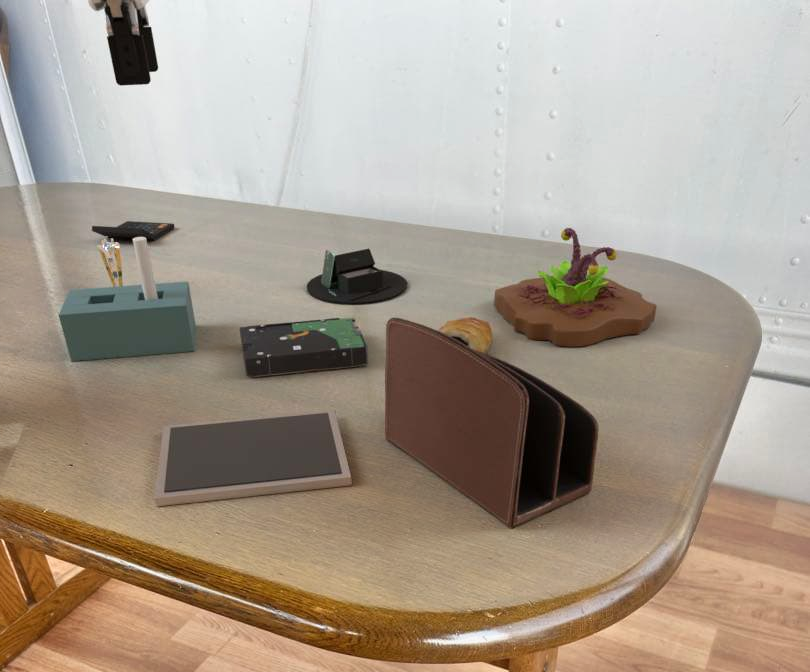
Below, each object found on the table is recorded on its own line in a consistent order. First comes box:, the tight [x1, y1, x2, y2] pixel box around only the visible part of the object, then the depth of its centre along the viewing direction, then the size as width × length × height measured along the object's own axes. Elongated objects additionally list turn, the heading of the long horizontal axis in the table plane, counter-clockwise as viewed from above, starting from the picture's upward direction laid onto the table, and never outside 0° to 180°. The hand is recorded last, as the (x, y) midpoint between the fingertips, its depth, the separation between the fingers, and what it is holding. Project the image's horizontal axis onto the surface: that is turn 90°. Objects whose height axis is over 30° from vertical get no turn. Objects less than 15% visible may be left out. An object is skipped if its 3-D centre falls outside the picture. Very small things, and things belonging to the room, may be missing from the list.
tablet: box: [154, 409, 353, 507], centre depth 81 cm, size 18×14×1 cm
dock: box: [58, 281, 197, 362], centre depth 103 cm, size 9×15×6 cm, turn 100°
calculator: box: [91, 220, 176, 241], centre depth 143 cm, size 9×12×3 cm
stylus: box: [132, 237, 158, 300], centre depth 102 cm, size 2×2×13 cm
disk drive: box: [239, 317, 369, 378], centre depth 100 cm, size 10×3×15 cm
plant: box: [493, 227, 657, 348], centre depth 108 cm, size 20×20×11 cm
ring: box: [95, 238, 124, 287], centre depth 117 cm, size 7×3×8 cm, turn 24°
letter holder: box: [384, 317, 600, 530], centre depth 75 cm, size 10×20×14 cm, turn 35°
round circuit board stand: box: [306, 248, 408, 306], centre depth 120 cm, size 15×15×6 cm
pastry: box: [437, 316, 493, 354], centre depth 101 cm, size 9×7×4 cm
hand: (138, 77), depth 82 cm, fingers open, 9 cm apart
